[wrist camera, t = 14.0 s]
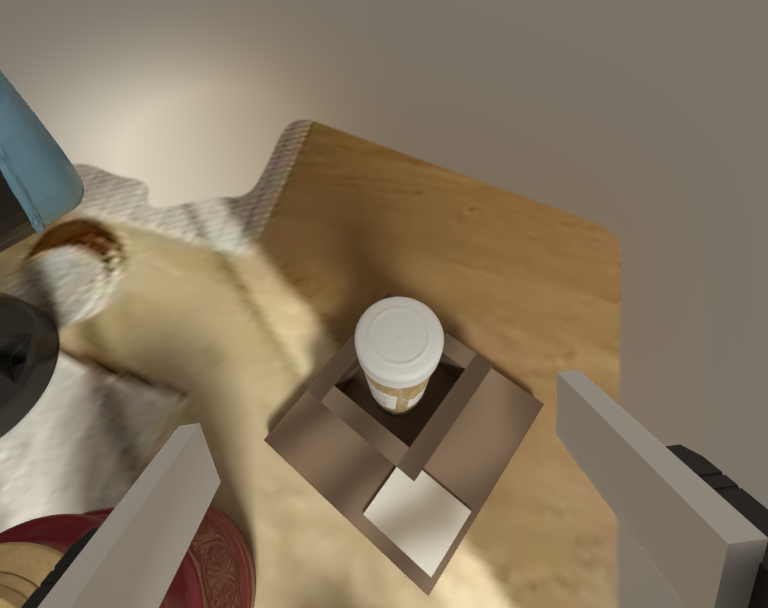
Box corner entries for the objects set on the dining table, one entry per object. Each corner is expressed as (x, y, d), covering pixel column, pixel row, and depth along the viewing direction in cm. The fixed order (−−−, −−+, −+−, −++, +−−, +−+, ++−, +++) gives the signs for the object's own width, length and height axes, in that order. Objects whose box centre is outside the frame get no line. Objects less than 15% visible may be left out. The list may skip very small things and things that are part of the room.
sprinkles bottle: (432, 405, 30) (459, 364, 17) (378, 423, 29) (368, 394, 17) (413, 354, 32) (426, 283, 19) (362, 370, 31) (342, 307, 19)
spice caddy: (269, 441, 30) (247, 436, 26) (387, 302, 35) (386, 277, 31) (426, 589, 26) (432, 614, 21) (537, 407, 31) (561, 396, 26)
